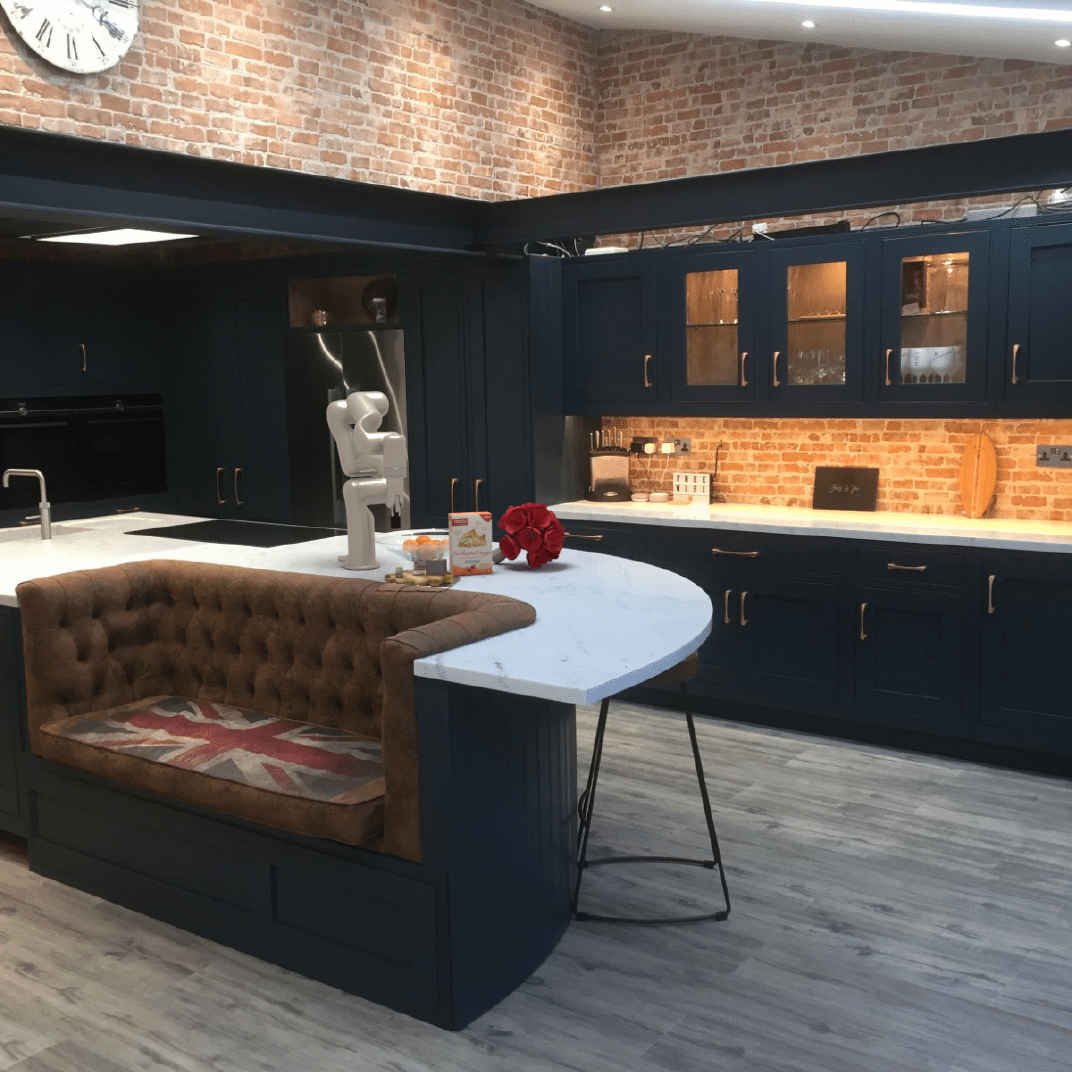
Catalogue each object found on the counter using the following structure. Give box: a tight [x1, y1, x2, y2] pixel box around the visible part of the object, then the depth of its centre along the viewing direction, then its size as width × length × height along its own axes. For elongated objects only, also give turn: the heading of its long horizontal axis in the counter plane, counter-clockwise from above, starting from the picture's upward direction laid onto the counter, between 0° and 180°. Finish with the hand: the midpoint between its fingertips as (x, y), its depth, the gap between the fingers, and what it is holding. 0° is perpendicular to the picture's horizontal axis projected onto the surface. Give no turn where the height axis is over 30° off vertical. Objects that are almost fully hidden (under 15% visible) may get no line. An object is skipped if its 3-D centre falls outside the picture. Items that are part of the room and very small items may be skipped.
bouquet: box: [492, 502, 566, 569], centre depth 409 cm, size 22×24×30 cm
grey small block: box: [424, 557, 448, 576], centre depth 377 cm, size 6×4×5 cm, turn 78°
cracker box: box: [448, 511, 493, 577], centre depth 396 cm, size 14×6×21 cm, turn 105°
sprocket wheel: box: [384, 566, 454, 587], centre depth 378 cm, size 22×22×5 cm
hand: (395, 527), depth 386 cm, fingers closed
